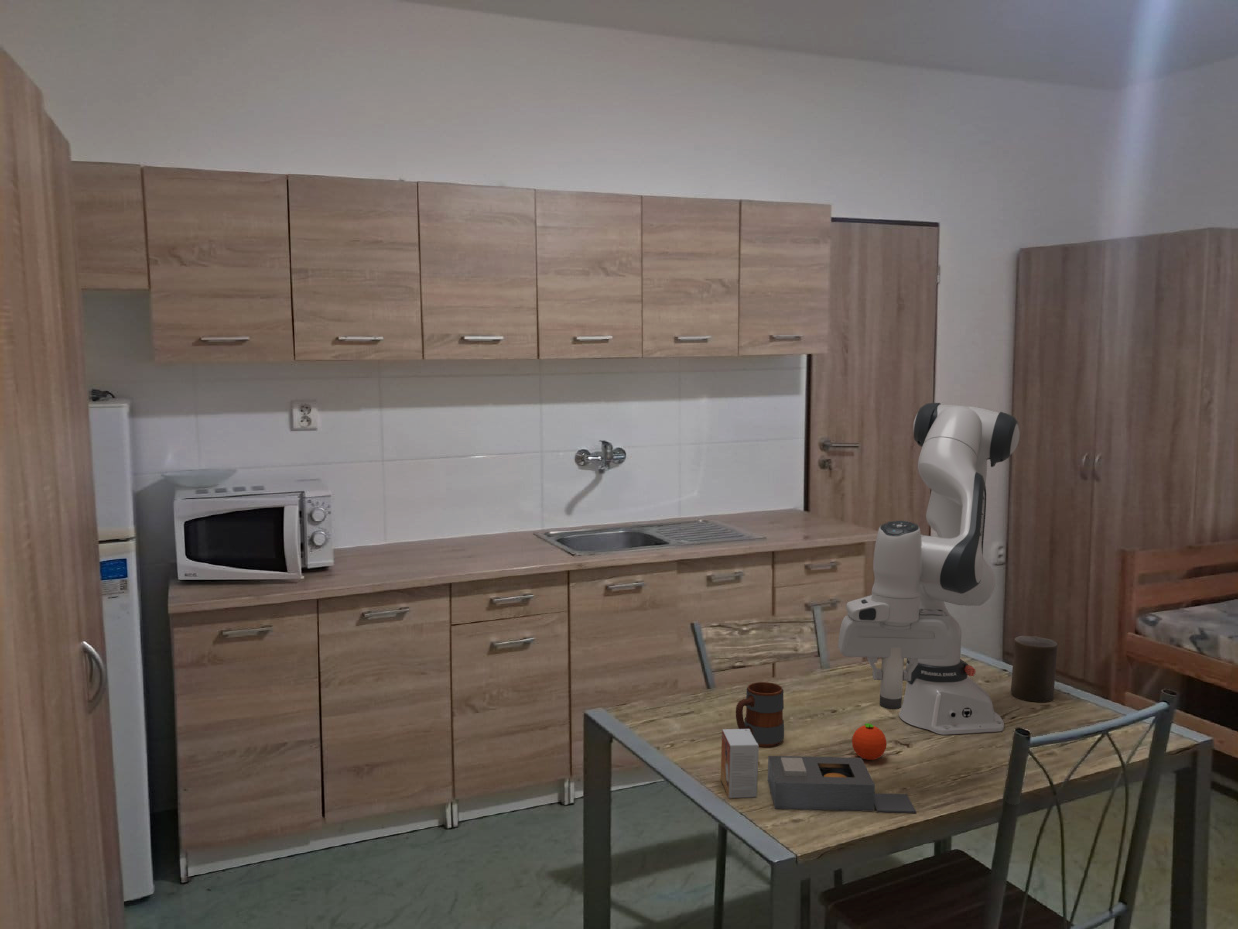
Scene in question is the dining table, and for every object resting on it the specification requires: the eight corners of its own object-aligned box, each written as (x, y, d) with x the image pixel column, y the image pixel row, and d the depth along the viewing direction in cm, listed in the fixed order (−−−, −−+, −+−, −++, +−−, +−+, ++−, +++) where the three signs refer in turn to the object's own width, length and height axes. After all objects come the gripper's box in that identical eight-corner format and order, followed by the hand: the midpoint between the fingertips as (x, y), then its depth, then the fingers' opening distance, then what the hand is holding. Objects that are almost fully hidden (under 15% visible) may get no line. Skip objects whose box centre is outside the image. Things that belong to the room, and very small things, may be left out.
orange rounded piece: (844, 780, 191) (845, 773, 190) (849, 791, 186) (849, 783, 186) (821, 780, 191) (821, 772, 191) (825, 790, 186) (825, 782, 186)
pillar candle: (1037, 705, 237) (1042, 644, 235) (1002, 693, 245) (1006, 633, 243) (1062, 698, 242) (1066, 638, 240) (1026, 686, 250) (1030, 628, 248)
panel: (860, 782, 194) (861, 753, 194) (873, 811, 183) (875, 779, 182) (767, 780, 195) (768, 751, 194) (775, 808, 183) (775, 777, 182)
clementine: (847, 749, 210) (848, 716, 209) (880, 750, 210) (881, 717, 209) (855, 765, 202) (856, 731, 201) (889, 766, 202) (890, 732, 201)
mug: (722, 740, 214) (724, 688, 213) (765, 729, 221) (767, 678, 219) (748, 754, 207) (750, 700, 206) (792, 742, 213) (793, 690, 212)
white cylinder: (898, 702, 192) (901, 641, 190) (903, 709, 188) (907, 647, 186) (877, 701, 192) (880, 641, 191) (882, 709, 188) (885, 647, 187)
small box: (720, 780, 195) (721, 728, 194) (748, 779, 195) (749, 727, 194) (728, 799, 187) (729, 745, 186) (757, 798, 188) (758, 744, 186)
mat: (906, 796, 189) (906, 794, 189) (916, 813, 182) (916, 811, 182) (869, 795, 189) (869, 793, 189) (877, 812, 182) (877, 810, 182)
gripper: (945, 605, 191) (941, 675, 192) (838, 602, 191) (835, 672, 193) (956, 614, 184) (951, 686, 186) (844, 611, 185) (841, 683, 186)
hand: (891, 679), depth 189 cm, fingers closed on white cylinder, 4 cm apart
